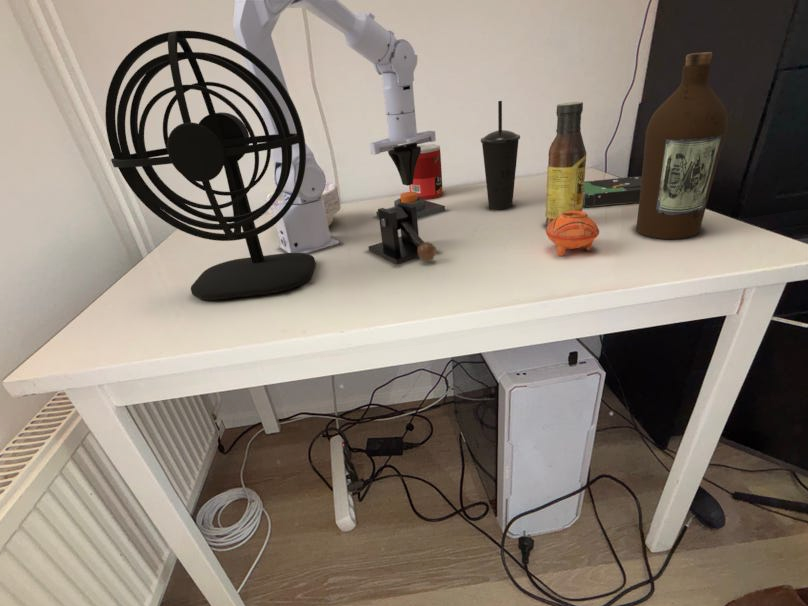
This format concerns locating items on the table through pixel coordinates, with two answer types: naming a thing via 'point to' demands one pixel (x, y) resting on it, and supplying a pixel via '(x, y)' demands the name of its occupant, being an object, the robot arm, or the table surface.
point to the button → (408, 197)
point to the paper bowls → (329, 200)
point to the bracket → (396, 236)
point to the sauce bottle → (566, 163)
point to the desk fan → (211, 162)
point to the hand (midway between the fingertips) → (407, 184)
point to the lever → (414, 236)
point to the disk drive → (612, 191)
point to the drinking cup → (500, 165)
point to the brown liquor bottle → (682, 155)
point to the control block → (422, 207)
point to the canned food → (428, 173)
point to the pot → (572, 231)
